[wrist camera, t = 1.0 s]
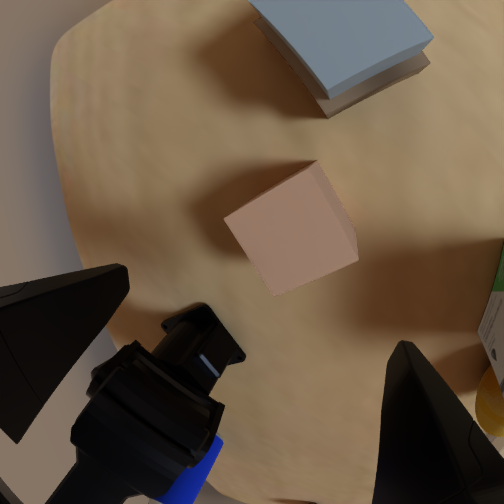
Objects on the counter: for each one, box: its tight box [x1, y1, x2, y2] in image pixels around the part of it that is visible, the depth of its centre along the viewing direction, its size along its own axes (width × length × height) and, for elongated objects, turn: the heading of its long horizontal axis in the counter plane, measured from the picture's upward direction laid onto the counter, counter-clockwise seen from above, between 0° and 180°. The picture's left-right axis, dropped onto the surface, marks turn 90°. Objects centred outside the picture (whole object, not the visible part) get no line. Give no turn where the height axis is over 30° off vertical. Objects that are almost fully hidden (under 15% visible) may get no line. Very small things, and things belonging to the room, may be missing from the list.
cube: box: [224, 161, 359, 297], centre depth 16 cm, size 5×5×5 cm
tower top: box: [248, 0, 434, 99], centre depth 9 cm, size 6×6×3 cm
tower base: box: [254, 17, 430, 119], centre depth 12 cm, size 7×7×3 cm
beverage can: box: [148, 433, 223, 504], centre depth 27 cm, size 5×5×15 cm
